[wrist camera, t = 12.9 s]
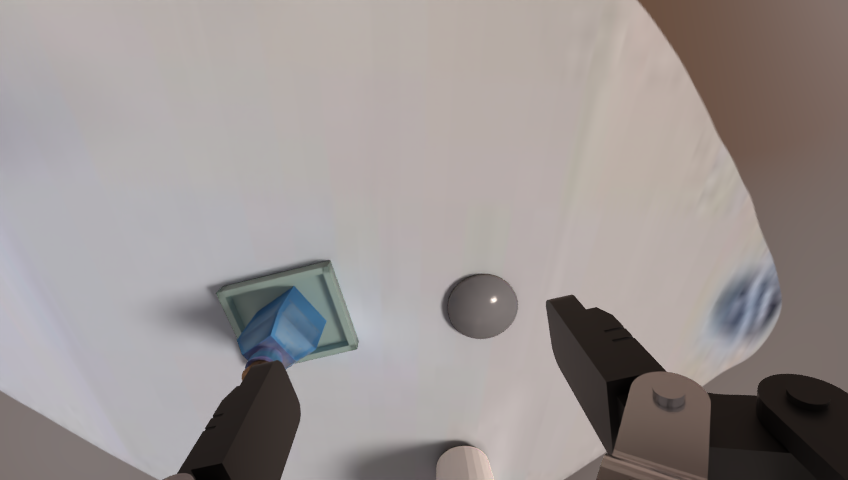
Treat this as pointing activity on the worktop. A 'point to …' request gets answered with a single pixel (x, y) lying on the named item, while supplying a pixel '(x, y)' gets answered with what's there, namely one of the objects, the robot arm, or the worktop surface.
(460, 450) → the cup
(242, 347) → the perfume bottle
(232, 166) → the worktop surface
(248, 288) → the tray
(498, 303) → the grey domed puck
